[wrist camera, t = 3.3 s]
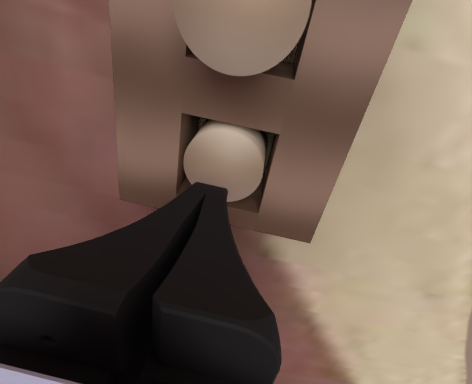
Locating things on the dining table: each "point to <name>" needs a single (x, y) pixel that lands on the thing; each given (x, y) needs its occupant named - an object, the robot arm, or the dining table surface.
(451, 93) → the dining table surface
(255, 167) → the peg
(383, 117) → the dining table surface
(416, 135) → the dining table surface
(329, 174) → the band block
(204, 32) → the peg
